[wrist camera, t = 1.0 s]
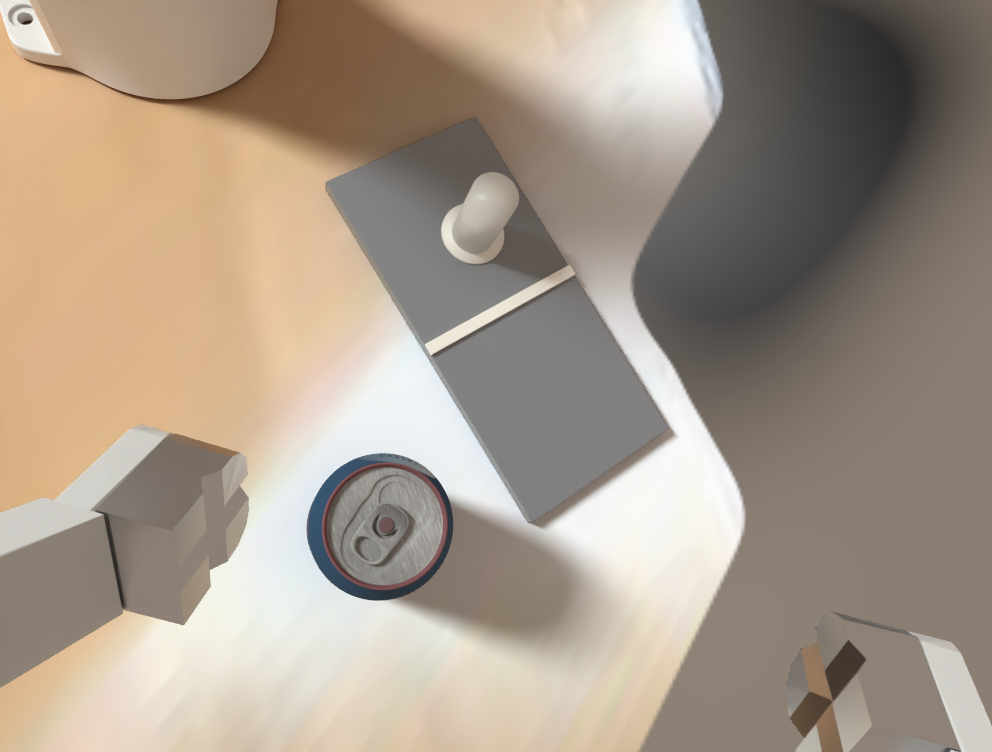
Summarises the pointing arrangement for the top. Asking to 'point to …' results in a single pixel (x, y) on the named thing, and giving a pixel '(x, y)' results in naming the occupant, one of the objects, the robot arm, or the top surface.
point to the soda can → (380, 526)
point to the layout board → (498, 314)
